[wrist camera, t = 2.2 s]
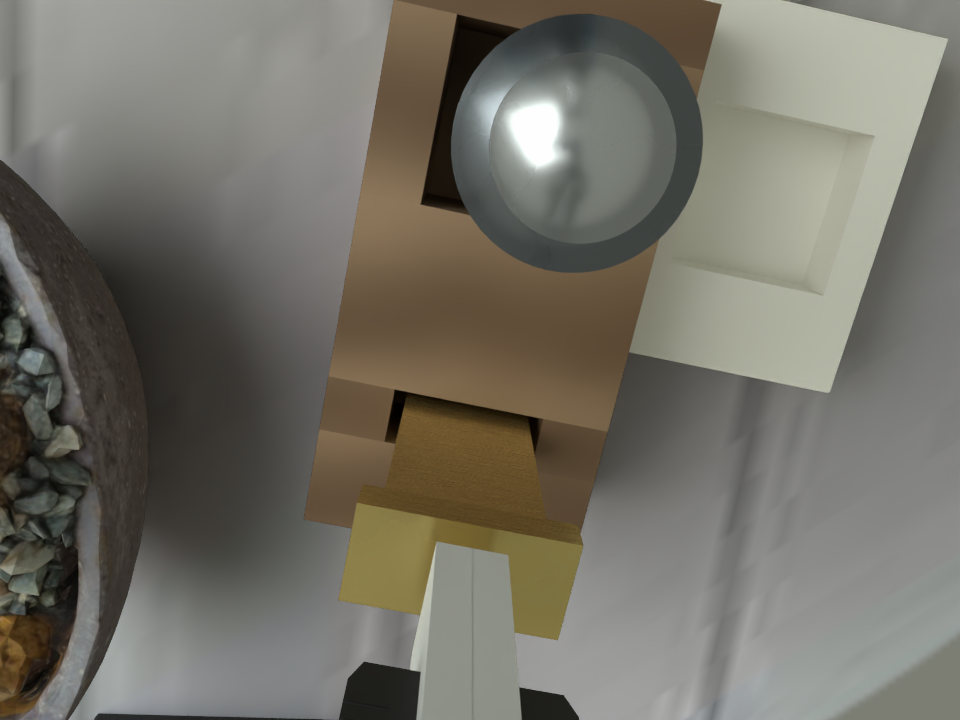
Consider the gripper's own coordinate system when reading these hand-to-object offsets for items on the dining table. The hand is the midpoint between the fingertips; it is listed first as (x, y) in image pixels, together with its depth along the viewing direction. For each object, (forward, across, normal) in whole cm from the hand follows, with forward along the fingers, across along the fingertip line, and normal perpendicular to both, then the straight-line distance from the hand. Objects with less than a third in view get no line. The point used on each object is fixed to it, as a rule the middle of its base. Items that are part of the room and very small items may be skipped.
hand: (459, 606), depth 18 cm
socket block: (+16, 0, +5) cm, 17 cm away
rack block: (+16, +8, +9) cm, 20 cm away
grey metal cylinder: (+14, 0, +10) cm, 17 cm away
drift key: (+11, 0, 0) cm, 11 cm away
